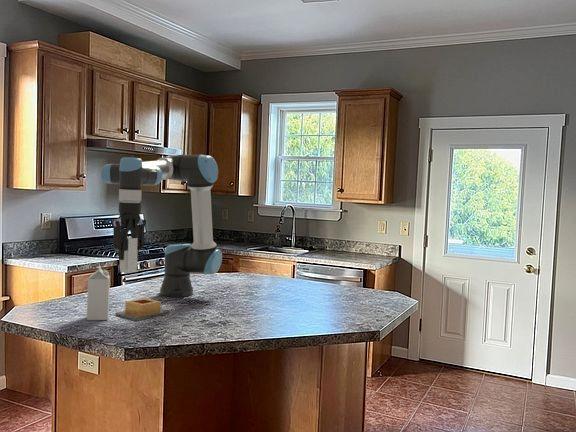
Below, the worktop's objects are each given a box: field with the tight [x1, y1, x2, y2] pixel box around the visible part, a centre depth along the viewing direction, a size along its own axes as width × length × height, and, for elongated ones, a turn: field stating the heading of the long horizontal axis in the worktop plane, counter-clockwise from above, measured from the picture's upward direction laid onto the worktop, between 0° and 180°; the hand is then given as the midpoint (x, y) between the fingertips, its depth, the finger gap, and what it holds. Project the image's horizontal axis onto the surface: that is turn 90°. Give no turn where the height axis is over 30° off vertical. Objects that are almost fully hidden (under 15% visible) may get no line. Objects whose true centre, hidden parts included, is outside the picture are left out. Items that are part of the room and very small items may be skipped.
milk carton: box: [86, 265, 111, 321], centre depth 191 cm, size 7×7×19 cm
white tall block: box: [119, 236, 138, 274], centre depth 184 cm, size 4×4×12 cm
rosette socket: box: [115, 297, 170, 322], centre depth 200 cm, size 16×12×5 cm
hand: (128, 268), depth 184 cm, fingers closed on white tall block, 4 cm apart
